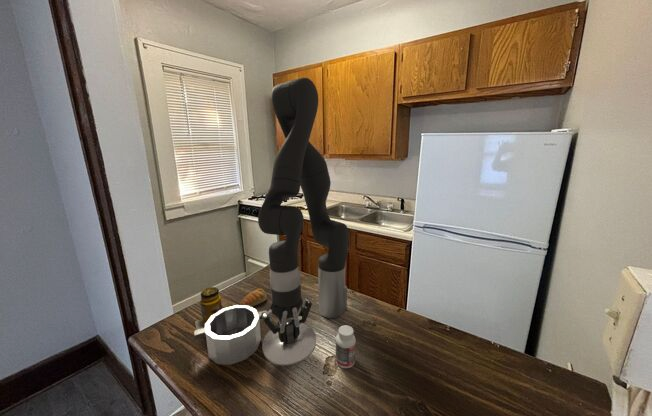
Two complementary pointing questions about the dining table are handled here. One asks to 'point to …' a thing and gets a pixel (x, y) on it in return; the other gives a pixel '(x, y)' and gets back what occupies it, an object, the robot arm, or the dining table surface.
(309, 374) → the dining table surface
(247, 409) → the dining table surface
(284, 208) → the robot arm
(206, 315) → the condiment
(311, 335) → the lid
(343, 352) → the pill bottle
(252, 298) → the pastry
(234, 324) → the pot
